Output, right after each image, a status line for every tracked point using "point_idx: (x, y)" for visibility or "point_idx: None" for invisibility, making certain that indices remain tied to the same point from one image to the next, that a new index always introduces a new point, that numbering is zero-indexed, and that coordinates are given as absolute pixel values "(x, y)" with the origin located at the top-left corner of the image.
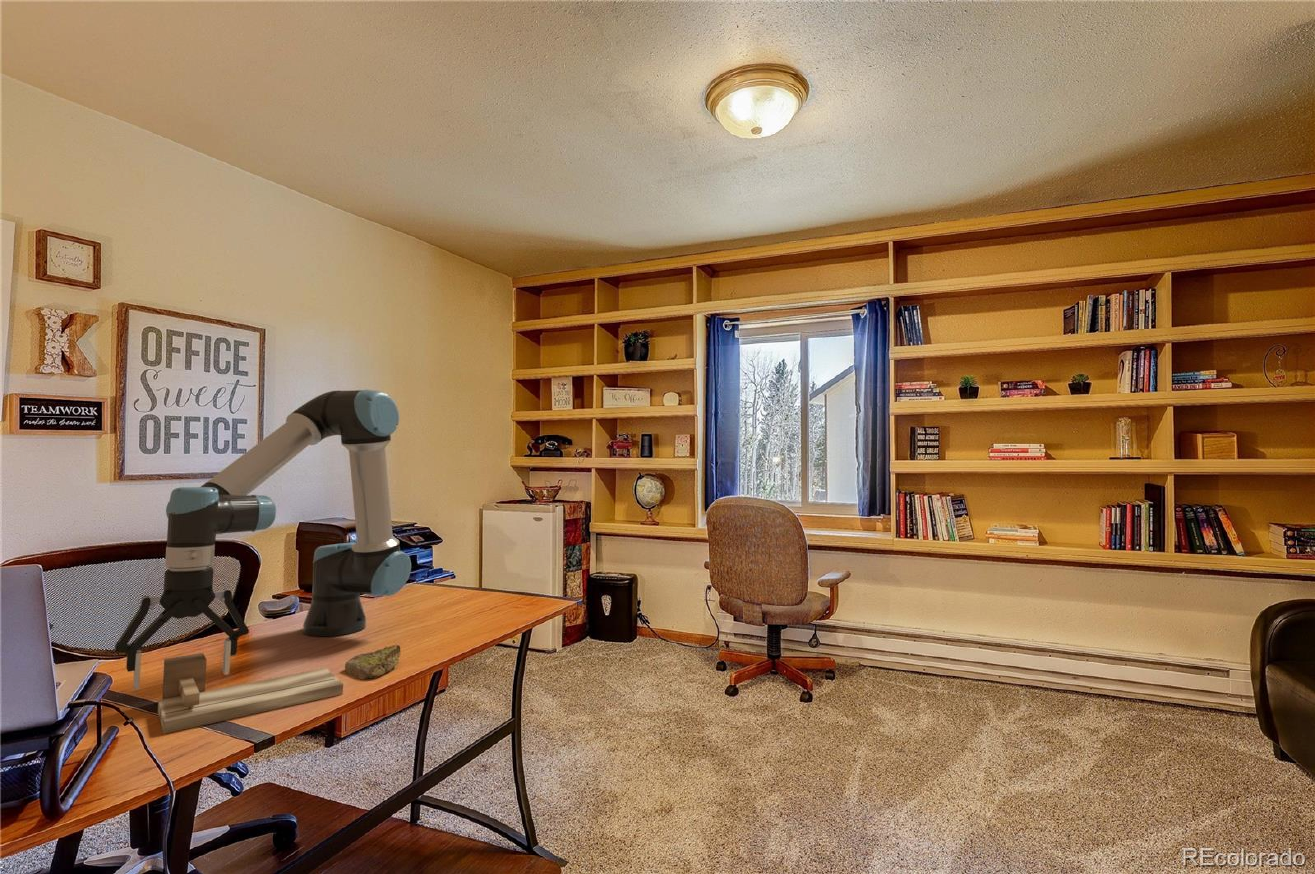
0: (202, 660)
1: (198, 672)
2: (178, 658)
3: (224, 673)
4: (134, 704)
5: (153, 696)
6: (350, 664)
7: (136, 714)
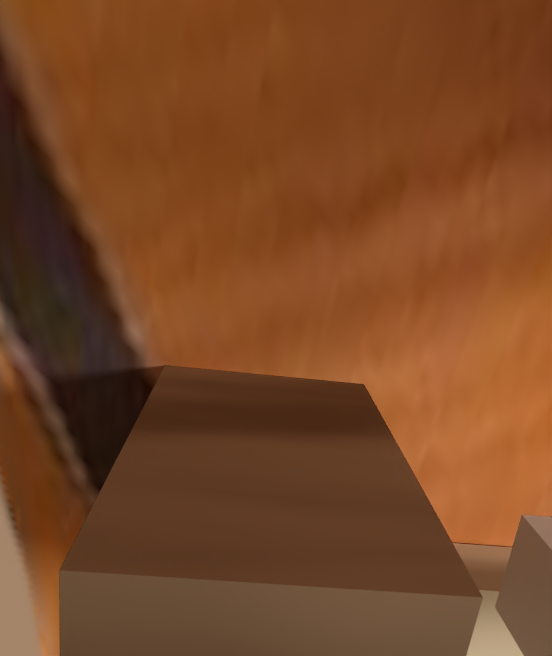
0: None
1: None
2: (203, 647)
3: (501, 611)
4: (25, 305)
5: (134, 222)
6: None
7: (30, 487)
